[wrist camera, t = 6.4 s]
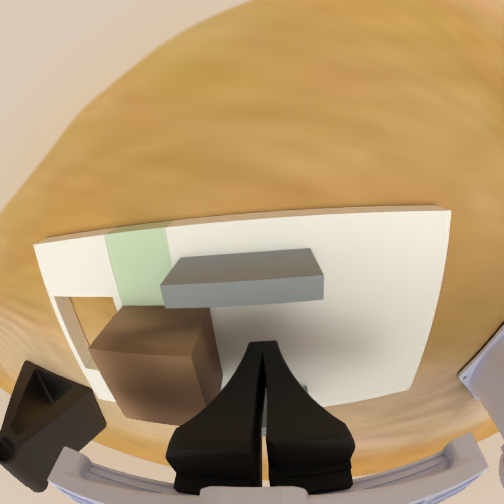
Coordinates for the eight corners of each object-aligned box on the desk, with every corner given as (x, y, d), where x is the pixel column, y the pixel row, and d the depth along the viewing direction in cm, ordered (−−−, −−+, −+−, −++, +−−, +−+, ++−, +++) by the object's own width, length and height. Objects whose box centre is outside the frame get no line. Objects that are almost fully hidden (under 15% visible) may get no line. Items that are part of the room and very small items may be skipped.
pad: (174, 220, 14) (165, 227, 12) (213, 397, 18) (210, 412, 16) (117, 227, 14) (104, 234, 12) (168, 395, 18) (164, 408, 17)
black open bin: (44, 396, 21) (0, 466, 9) (26, 359, 19) (-33, 433, 7) (107, 424, 21) (69, 512, 9) (92, 388, 19) (37, 490, 7)
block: (208, 304, 13) (191, 356, 10) (223, 375, 15) (213, 428, 11) (123, 305, 14) (88, 348, 10) (147, 371, 15) (125, 417, 12)
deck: (436, 205, 13) (486, 225, 9) (402, 376, 17) (424, 417, 13) (47, 237, 14) (1, 262, 10) (105, 386, 18) (84, 424, 14)
